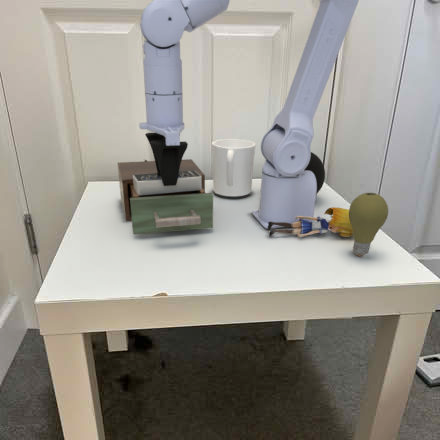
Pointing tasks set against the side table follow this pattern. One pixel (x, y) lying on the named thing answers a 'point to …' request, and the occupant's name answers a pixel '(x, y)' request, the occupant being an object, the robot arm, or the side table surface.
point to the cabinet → (144, 167)
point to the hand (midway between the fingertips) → (167, 180)
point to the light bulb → (366, 220)
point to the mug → (232, 167)
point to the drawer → (171, 211)
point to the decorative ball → (316, 170)
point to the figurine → (318, 224)
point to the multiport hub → (154, 185)
